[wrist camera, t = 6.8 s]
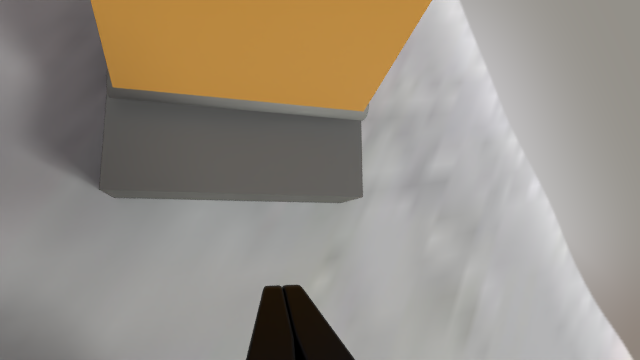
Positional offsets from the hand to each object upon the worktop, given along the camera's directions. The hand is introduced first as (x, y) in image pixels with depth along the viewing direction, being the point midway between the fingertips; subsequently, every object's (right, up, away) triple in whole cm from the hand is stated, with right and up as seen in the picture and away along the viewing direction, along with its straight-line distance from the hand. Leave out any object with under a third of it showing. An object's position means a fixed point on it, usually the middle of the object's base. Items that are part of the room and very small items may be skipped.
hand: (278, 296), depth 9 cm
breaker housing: (-3, +6, +11) cm, 13 cm away
